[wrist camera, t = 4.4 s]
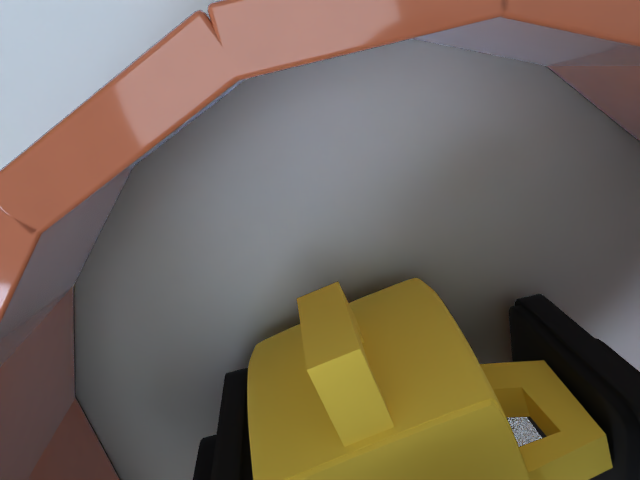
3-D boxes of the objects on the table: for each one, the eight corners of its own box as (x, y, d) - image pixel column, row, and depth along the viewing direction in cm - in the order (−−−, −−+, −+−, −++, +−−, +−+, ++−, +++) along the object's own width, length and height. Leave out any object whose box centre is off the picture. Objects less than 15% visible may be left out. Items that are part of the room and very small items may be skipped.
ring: (749, -94, 9) (1120, -217, 5) (682, 511, 15) (822, 662, 11) (-123, 117, 8) (-442, 158, 5) (180, 641, 14) (149, 841, 11)
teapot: (533, 435, 13) (692, 658, 8) (344, 510, 13) (388, 768, 8) (455, 181, 10) (631, 290, 5) (214, 284, 10) (163, 481, 5)
